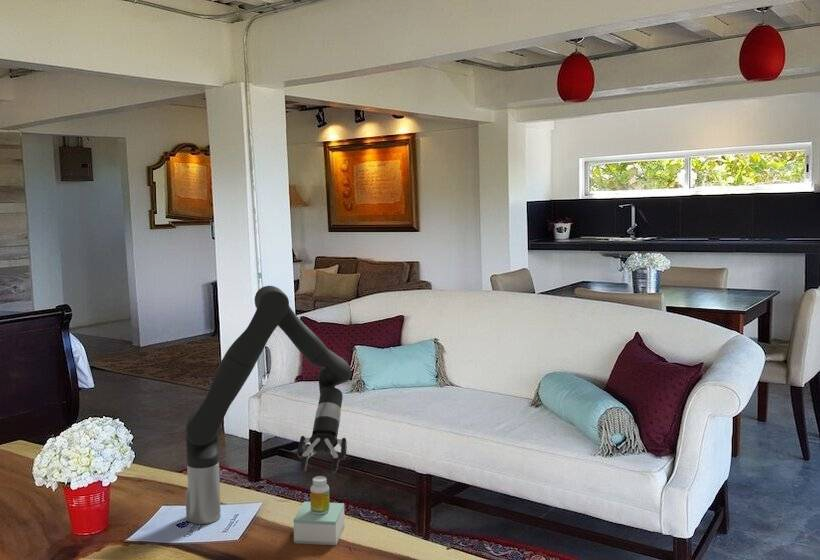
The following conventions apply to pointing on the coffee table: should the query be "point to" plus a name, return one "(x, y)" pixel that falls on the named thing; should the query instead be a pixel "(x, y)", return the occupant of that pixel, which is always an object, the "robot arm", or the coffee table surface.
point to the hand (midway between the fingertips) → (318, 471)
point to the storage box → (319, 532)
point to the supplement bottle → (319, 495)
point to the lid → (327, 518)
